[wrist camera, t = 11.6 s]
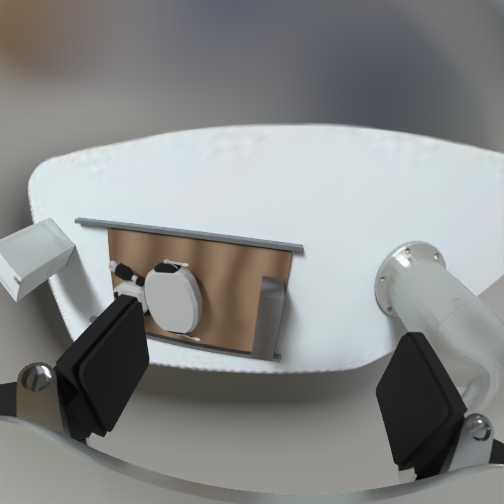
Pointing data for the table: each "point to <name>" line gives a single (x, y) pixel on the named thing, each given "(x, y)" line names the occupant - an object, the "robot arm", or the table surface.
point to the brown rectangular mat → (216, 285)
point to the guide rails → (201, 236)
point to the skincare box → (32, 257)
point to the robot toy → (164, 295)
